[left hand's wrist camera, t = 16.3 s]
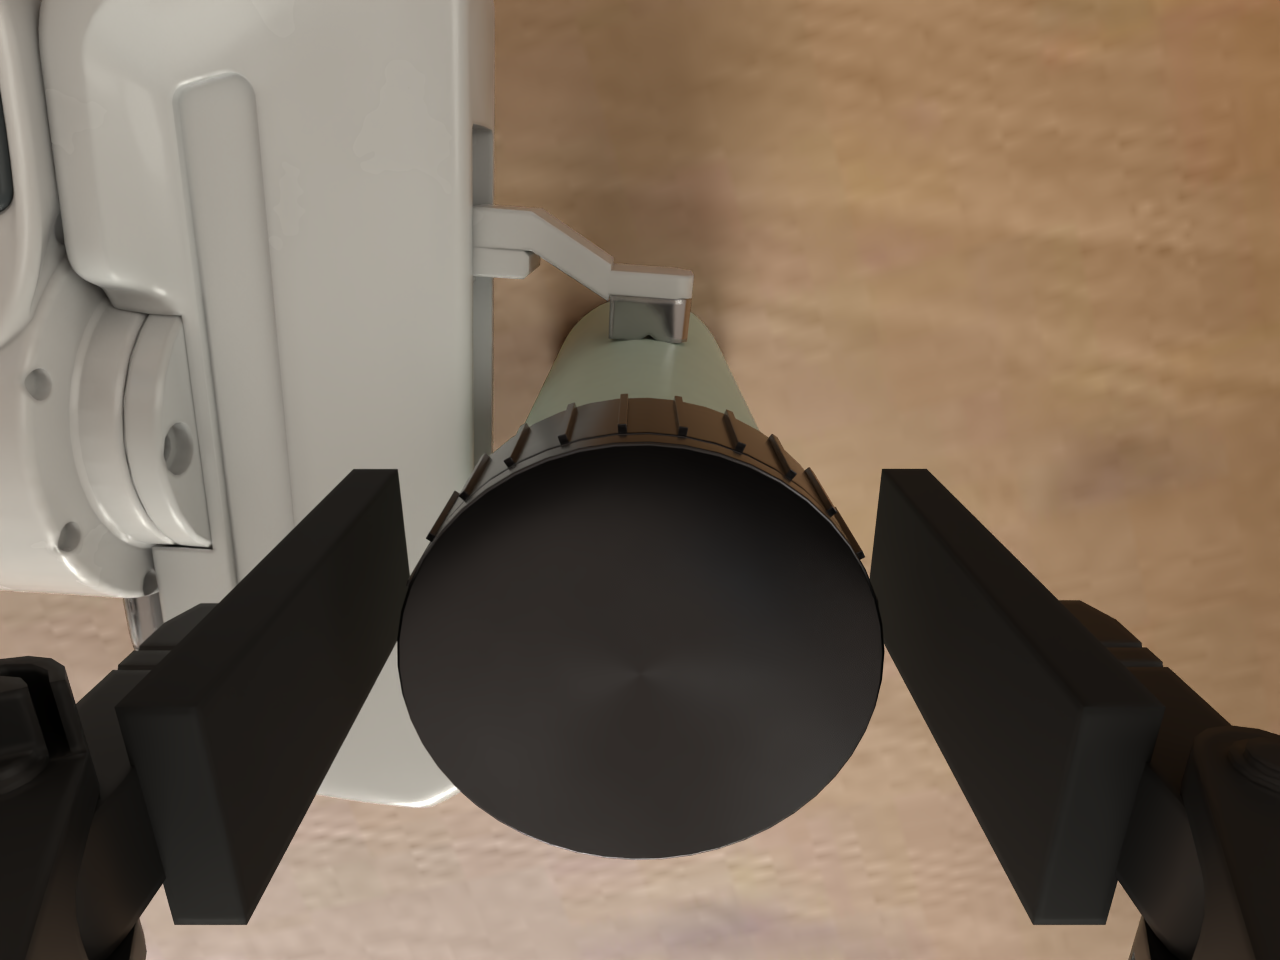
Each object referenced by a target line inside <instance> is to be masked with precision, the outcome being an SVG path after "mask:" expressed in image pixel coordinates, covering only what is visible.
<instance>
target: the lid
mask: <svg viewBox="0 0 1280 960" xmlns="http://www.w3.org/2000/svg"><path fill="white" fill-rule="evenodd" d="M426 539H427V540H429V541H430V543H429V544H428V546H427V548H426V549H425V551H424V553H423V555H422V556H421V558H420V560H419V561H418V563H417V565H416V567H415V568H414V570H413V572H412V573H411V575H410V577H409V578H408V581H407V584H406V586H408V590H407V593H406V596H405V600H404V603H403V606H402V609H401V615H400V622H399V629H398V636H397V666H398V672H399V678H400V684H401V690H402V695H403V698H404V701H405V704H406V707H407V710H408V714H409V717H410V720H411V722H412V724H413V726H414V728H415V730H416V732H417V734H418V736H419V738H420V740H421V742H422V744H423V746H424V747H425V749H426V750H427V752H428V753H429V755H430V756H431V758H432V759H433V761H434V762H435V764H436V765H437V766H438V768H439V769H440V770H441V771H442V772H443V773H444V774H445V776H446V777H447V778H448V779H449V780H450V781H451V782H452V784H453V785H454V786H455V787H456V788H457V789H458V790H460V791H461V792H462V793H463V794H464V795H465V796H466V797H467V798H469V799H470V800H471V801H472V802H473V803H474V804H475V805H477V806H478V807H479V808H481V809H482V810H484V811H485V812H487V813H488V814H489V815H491V816H492V817H494V818H495V819H497V820H498V821H500V822H502V823H503V824H505V825H507V826H509V827H511V828H513V829H515V830H516V831H518V832H520V833H522V834H524V835H527V836H529V837H531V838H534V839H536V840H539V841H541V842H544V843H546V844H549V845H552V846H555V847H559V848H562V849H566V850H569V851H573V852H576V853H581V854H587V855H593V856H598V857H604V858H616V859H629V860H647V859H667V858H675V857H683V856H690V855H695V854H699V853H703V852H708V851H712V850H716V849H720V848H723V847H726V846H728V845H731V844H734V843H737V842H740V841H743V840H746V839H748V838H750V837H752V836H754V835H756V834H758V833H760V832H763V831H765V830H767V829H769V828H771V827H773V826H774V825H776V824H777V823H779V822H781V821H782V820H784V819H786V818H787V817H789V816H790V815H792V814H794V813H795V812H796V811H798V810H799V809H800V808H801V807H803V806H804V805H805V804H806V803H808V802H809V801H810V800H812V799H813V798H814V797H815V796H816V795H817V794H818V793H819V792H820V791H821V790H822V789H823V788H824V787H825V786H826V785H827V784H828V783H829V782H830V781H831V780H832V779H833V778H834V777H835V776H836V775H837V774H838V772H839V771H840V770H841V769H842V767H843V766H844V765H845V763H846V762H847V761H848V759H849V758H850V757H851V756H852V754H853V752H854V750H855V749H856V747H857V745H858V743H859V742H860V740H861V738H862V737H863V735H864V733H865V731H866V729H867V726H868V724H869V721H870V719H871V716H872V714H873V711H874V709H875V706H876V702H877V698H878V694H879V690H880V685H881V681H882V674H883V662H884V638H883V624H882V619H881V615H880V611H879V603H878V598H877V597H876V594H875V592H874V589H873V587H872V584H871V582H870V579H869V577H868V574H867V572H866V569H865V568H864V566H863V564H862V562H861V561H860V559H862V558H864V557H865V556H864V554H863V551H862V550H861V548H860V546H859V545H858V543H857V541H856V540H855V538H854V536H853V535H852V533H851V531H850V530H849V528H848V527H847V525H846V523H845V522H844V520H843V518H842V517H841V515H840V513H839V512H838V510H837V508H836V507H834V505H833V504H832V502H831V500H830V499H829V497H828V495H827V494H826V492H825V490H824V489H823V487H822V485H821V484H820V482H819V480H818V479H817V477H816V475H815V474H814V472H813V471H812V470H811V468H810V467H809V468H807V469H806V470H804V469H803V468H802V467H801V465H800V464H799V463H798V462H797V461H796V460H794V459H793V458H792V457H791V456H790V455H789V454H788V453H787V452H786V451H785V450H784V449H783V447H782V445H781V443H780V441H779V439H778V438H777V437H776V436H775V435H773V434H771V436H770V437H769V438H768V437H767V436H765V435H764V434H763V433H761V432H760V431H758V430H757V429H755V428H753V427H751V426H749V425H747V424H745V423H743V422H742V421H740V420H738V419H736V418H735V416H734V413H733V412H732V411H729V410H727V409H726V411H725V413H721V412H718V411H715V410H713V409H710V408H707V407H704V406H699V405H695V404H691V403H686V402H683V399H682V397H680V396H674V400H667V399H657V398H628V394H620V399H613V400H606V401H600V402H594V403H589V404H585V405H582V406H578V407H576V404H575V403H571V404H568V406H567V409H566V410H565V411H562V412H559V413H557V414H555V415H553V416H550V417H548V418H546V419H544V420H541V421H539V422H537V423H535V424H533V425H532V426H530V427H529V426H528V424H527V423H525V424H523V425H522V426H520V428H519V430H518V432H517V434H516V435H515V436H514V437H512V438H511V439H510V440H508V441H507V442H506V443H505V444H503V445H502V446H501V447H500V448H499V449H497V450H496V451H495V452H494V453H493V454H491V455H490V456H488V455H487V454H486V453H485V454H484V455H483V456H482V457H481V458H480V460H479V461H478V463H477V465H476V466H475V468H474V470H473V472H472V473H471V475H470V477H469V478H468V480H467V482H466V484H465V485H464V487H463V489H462V491H461V492H460V493H459V492H457V491H454V492H453V494H452V495H451V497H450V499H449V500H448V502H447V504H446V505H445V507H444V509H443V510H442V512H441V514H440V515H439V517H438V519H437V520H436V522H435V524H434V525H433V527H432V529H431V530H430V532H429V533H428V535H427V537H426Z"/></svg>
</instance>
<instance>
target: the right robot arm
mask: <svg viewBox="0 0 1280 960" xmlns="http://www.w3.org/2000/svg"><path fill="white" fill-rule="evenodd" d="M494 122H495V7H494V1H493V0H0V591H16V592H35V593H50V594H66V595H82V596H97V597H113V598H123V603H124V608H125V614H126V620H127V625H128V630H129V634H130V638H131V642H132V644H133V647H134V650H139V645H141V644H142V643H143V642H144V641H145V640H146V639H147V638H148V637H149V636H150V635H151V634H152V633H154V632H155V631H156V630H157V629H158V628H159V627H160V626H161V625H162V624H163V623H165V622H166V621H168V620H170V619H172V618H174V617H176V616H178V615H179V614H181V613H183V612H185V611H187V610H189V609H191V608H192V607H194V606H196V605H198V604H200V603H219V602H220V601H221V600H222V599H223V598H224V597H225V596H226V595H227V594H228V593H229V592H230V591H231V590H232V589H233V588H234V587H235V586H236V585H237V584H238V583H239V582H240V581H241V580H242V579H243V578H244V577H245V576H246V575H247V574H248V573H249V572H250V571H251V570H252V569H253V568H254V567H255V566H256V565H257V564H258V563H259V562H260V561H261V560H262V559H263V558H264V557H265V556H267V555H268V554H269V553H270V552H271V551H272V550H273V549H274V548H275V547H276V546H277V545H278V544H279V543H280V542H281V541H282V540H283V539H284V538H285V537H286V536H287V535H288V534H289V533H290V532H291V531H292V530H293V529H294V528H295V527H296V526H297V525H298V524H299V523H300V522H301V521H302V520H303V519H304V518H305V517H306V516H307V515H308V514H309V513H310V512H311V511H312V510H313V509H314V508H315V507H316V506H317V505H318V504H319V503H320V502H321V501H322V500H323V499H324V498H325V497H326V496H327V495H328V494H329V493H330V492H331V491H332V490H333V489H334V488H335V487H336V486H337V485H338V484H339V483H340V482H341V481H342V480H343V479H344V478H345V477H346V476H347V475H348V474H349V473H350V472H351V471H352V470H353V469H398V475H399V483H400V492H401V501H402V510H403V519H404V528H405V536H406V545H407V554H408V563H409V572H410V575H411V573H412V572H413V570H414V568H415V567H416V565H417V563H418V561H419V560H420V558H421V556H422V555H423V553H424V551H425V549H426V548H427V546H428V544H429V543H430V541H429V540H427V539H426V537H427V535H428V533H429V532H430V530H431V529H432V527H433V525H434V524H435V522H436V520H437V519H438V517H439V515H440V514H441V512H442V510H443V509H444V507H445V505H446V504H447V502H448V500H449V499H450V497H451V495H452V494H453V492H454V491H457V492H459V493H460V492H461V491H462V489H463V487H464V485H465V484H466V482H467V480H468V478H469V477H470V475H471V473H472V472H473V470H474V468H475V466H476V465H477V463H478V461H479V460H480V458H481V457H482V456H483V455H484V454H485V453H486V454H487V455H488V456H490V455H491V454H493V337H494V277H496V278H513V279H524V278H525V277H526V276H528V275H529V274H530V273H531V272H532V271H534V270H535V269H536V268H537V267H538V266H539V265H540V257H541V258H543V259H544V260H546V261H547V262H549V263H550V264H552V265H553V266H555V267H556V268H558V269H560V270H561V271H563V272H564V273H566V274H567V275H569V276H570V277H572V278H573V279H575V280H576V281H578V282H579V283H581V284H582V285H584V286H585V287H587V288H589V289H590V290H592V291H593V292H595V293H596V294H598V295H599V296H601V297H602V298H604V299H605V300H607V301H608V300H609V297H610V311H609V338H608V339H620V340H640V339H642V338H644V337H646V336H647V335H650V336H652V337H653V338H654V339H655V340H657V341H662V342H667V343H683V342H687V338H688V329H689V320H690V311H691V302H692V289H693V279H694V275H693V273H692V271H691V270H687V269H682V268H676V267H663V266H649V265H636V264H622V263H614V257H613V256H611V255H610V254H608V253H607V252H605V251H604V250H602V249H601V248H600V247H598V246H597V245H595V244H594V243H592V242H591V241H589V240H588V239H587V238H585V237H584V236H582V235H581V234H579V233H578V232H576V231H575V230H574V229H572V228H571V227H569V226H568V225H566V224H565V223H563V222H562V221H561V220H559V219H558V218H556V217H555V216H553V215H552V214H550V213H549V212H548V211H546V210H545V209H543V208H535V207H521V206H507V205H494ZM460 792H461V791H460V790H458V789H457V788H456V787H455V786H454V785H453V784H452V782H451V781H450V780H449V779H448V778H447V777H446V776H445V774H444V773H443V772H442V771H441V770H440V769H439V768H438V766H437V765H436V764H435V762H434V761H433V759H432V758H431V756H430V755H429V753H428V752H427V750H426V749H425V747H424V746H423V744H422V742H421V740H420V738H419V736H418V734H417V732H416V730H415V728H414V726H413V724H412V722H411V720H410V717H409V714H408V710H407V707H406V704H405V701H404V698H403V695H402V690H401V684H400V678H399V672H398V666H397V642H396V644H395V646H394V648H393V650H392V652H391V654H390V656H389V658H388V659H387V661H386V663H385V665H384V667H383V669H382V671H381V673H380V675H379V676H378V678H377V680H376V682H375V684H374V686H373V688H372V690H371V691H370V693H369V695H368V697H367V699H366V701H365V703H364V705H363V707H362V708H361V710H360V712H359V714H358V716H357V718H356V720H355V722H354V724H353V725H352V727H351V729H350V731H349V733H348V735H347V737H346V739H345V741H344V742H343V744H342V746H341V748H340V750H339V752H338V754H337V756H336V757H335V759H334V761H333V763H332V765H331V767H330V769H329V771H328V773H327V774H326V776H325V778H324V780H323V782H322V784H321V786H320V788H319V790H318V791H317V793H316V795H322V796H327V797H333V798H339V799H345V800H352V801H358V802H366V803H374V804H382V805H390V806H400V807H411V808H427V807H432V806H436V805H438V804H440V803H442V802H443V801H445V800H447V799H449V798H451V797H453V796H455V795H456V794H458V793H460Z"/></svg>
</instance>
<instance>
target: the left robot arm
mask: <svg viewBox="0 0 1280 960" xmlns="http://www.w3.org/2000/svg"><path fill="white" fill-rule="evenodd" d="M409 577H410V572H409V563H408V554H407V545H406V536H405V528H404V519H403V510H402V501H401V492H400V483H399V475H398V469H353V470H352V471H351V472H350V473H349V474H348V475H347V476H346V477H345V478H344V479H343V480H342V481H341V482H340V483H339V484H338V485H337V486H336V487H335V488H334V489H333V490H332V491H331V492H330V493H329V494H328V495H327V496H326V497H325V498H324V499H323V500H322V501H321V502H320V503H319V504H318V505H317V506H316V507H315V508H314V509H313V510H312V511H311V512H310V513H309V514H308V515H307V516H306V517H305V518H304V519H303V520H302V521H301V522H300V523H299V524H298V525H297V526H296V527H295V528H294V529H293V530H292V531H291V532H290V533H289V534H288V535H287V536H286V537H285V538H284V539H283V540H282V541H281V542H280V543H279V544H278V545H277V546H276V547H275V548H274V549H273V550H272V551H271V552H270V553H269V554H268V555H267V556H265V557H264V558H263V559H262V560H261V561H260V562H259V563H258V564H257V565H256V566H255V567H254V568H253V569H252V570H251V571H250V572H249V573H248V574H247V575H246V576H245V577H244V578H243V579H242V580H241V581H240V582H239V583H238V584H237V585H236V586H235V587H234V588H233V589H232V590H231V591H230V592H229V593H228V594H227V595H226V596H225V597H224V598H223V599H222V600H221V601H220V602H219V603H200V604H198V605H196V606H194V607H192V608H191V609H189V610H187V611H185V612H183V613H181V614H179V615H178V616H176V617H174V618H172V619H170V620H168V621H166V622H165V623H163V624H162V625H161V626H160V627H159V628H158V629H157V630H156V631H155V632H154V633H152V634H151V635H150V636H149V637H148V638H147V639H146V640H145V641H144V642H143V643H142V644H141V645H139V650H134V651H133V652H132V653H131V654H130V655H129V656H128V657H126V658H125V659H124V660H123V661H122V662H121V663H120V664H119V665H118V670H112V671H111V672H110V673H109V674H108V675H107V676H106V677H105V678H104V679H103V680H102V681H100V682H99V683H98V684H97V685H96V686H95V687H94V688H93V689H92V690H91V691H90V692H89V693H87V694H86V695H85V696H84V697H83V698H82V699H81V700H80V701H79V702H78V703H77V704H75V700H74V697H73V693H72V690H71V687H70V683H69V680H68V677H67V673H66V670H65V666H63V665H61V664H60V663H58V662H56V661H55V660H53V659H52V658H42V657H33V656H24V657H15V658H6V659H0V960H145V959H146V952H147V951H146V944H145V938H144V933H143V929H142V926H141V923H140V919H139V917H140V916H141V915H142V913H143V912H144V910H145V909H146V907H147V906H148V904H149V903H150V901H151V900H152V898H153V897H154V895H155V894H156V893H157V891H158V890H159V888H160V887H161V885H162V884H163V885H164V888H165V892H166V896H167V899H168V903H169V907H170V910H171V914H172V917H173V921H174V925H247V923H248V921H249V920H250V918H251V916H252V914H253V912H254V910H255V908H256V906H257V905H258V903H259V901H260V899H261V897H262V895H263V893H264V891H265V889H266V888H267V886H268V884H269V882H270V880H271V878H272V876H273V874H274V872H275V871H276V869H277V867H278V865H279V863H280V861H281V859H282V857H283V856H284V854H285V852H286V850H287V848H288V846H289V844H290V842H291V840H292V839H293V837H294V835H295V833H296V831H297V829H298V827H299V825H300V823H301V822H302V820H303V818H304V816H305V814H306V812H307V810H308V808H309V806H310V805H311V803H312V801H313V799H314V797H315V795H316V793H317V791H318V790H319V788H320V786H321V784H322V782H323V780H324V778H325V776H326V774H327V773H328V771H329V769H330V767H331V765H332V763H333V761H334V759H335V757H336V756H337V754H338V752H339V750H340V748H341V746H342V744H343V742H344V741H345V739H346V737H347V735H348V733H349V731H350V729H351V727H352V725H353V724H354V722H355V720H356V718H357V716H358V714H359V712H360V710H361V708H362V707H363V705H364V703H365V701H366V699H367V697H368V695H369V693H370V691H371V690H372V688H373V686H374V684H375V682H376V680H377V678H378V676H379V675H380V673H381V671H382V669H383V667H384V665H385V663H386V661H387V659H388V658H389V656H390V654H391V652H392V650H393V648H394V646H395V644H396V642H397V636H398V629H399V622H400V615H401V609H402V606H403V603H404V600H405V596H406V593H407V590H408V586H406V584H407V581H408V578H409ZM870 582H871V584H872V587H873V589H874V592H875V594H876V597H877V598H878V603H879V611H880V615H881V619H882V624H883V638H884V644H885V646H886V648H887V650H888V652H889V654H890V656H891V658H892V659H893V661H894V663H895V665H896V667H897V669H898V671H899V673H900V675H901V676H902V678H903V680H904V682H905V684H906V686H907V688H908V690H909V691H910V693H911V695H912V697H913V699H914V701H915V703H916V705H917V707H918V708H919V710H920V712H921V714H922V716H923V718H924V720H925V722H926V724H927V725H928V727H929V729H930V731H931V733H932V735H933V737H934V739H935V741H936V742H937V744H938V746H939V748H940V750H941V752H942V754H943V756H944V757H945V759H946V761H947V763H948V765H949V767H950V769H951V771H952V773H953V774H954V776H955V778H956V780H957V782H958V784H959V786H960V788H961V790H962V791H963V793H964V795H965V797H966V799H967V801H968V803H969V805H970V806H971V808H972V810H973V812H974V814H975V816H976V818H977V820H978V822H979V823H980V825H981V827H982V829H983V831H984V833H985V835H986V837H987V839H988V840H989V842H990V844H991V846H992V848H993V850H994V852H995V854H996V856H997V857H998V859H999V861H1000V863H1001V865H1002V867H1003V869H1004V871H1005V872H1006V874H1007V876H1008V878H1009V880H1010V882H1011V884H1012V886H1013V888H1014V889H1015V891H1016V893H1017V895H1018V897H1019V899H1020V901H1021V903H1022V905H1023V906H1024V908H1025V910H1026V912H1027V914H1028V916H1029V918H1030V920H1031V922H1032V923H1033V925H1106V921H1107V917H1108V914H1109V910H1110V907H1111V903H1112V899H1113V896H1114V892H1115V888H1116V885H1117V881H1119V882H1120V884H1121V885H1122V887H1123V888H1124V890H1125V891H1126V893H1127V894H1128V895H1129V897H1130V898H1131V900H1132V901H1133V903H1134V904H1135V906H1136V907H1137V909H1138V910H1139V912H1140V913H1141V914H1142V916H1141V919H1140V923H1139V926H1138V929H1137V933H1136V936H1135V939H1134V943H1133V946H1132V950H1131V953H1130V956H1129V960H1280V735H1277V734H1274V733H1270V732H1267V731H1264V730H1260V729H1254V728H1247V727H1239V726H1232V725H1231V724H1230V723H1228V722H1227V721H1226V720H1225V719H1224V718H1223V717H1222V716H1221V715H1220V714H1219V713H1218V712H1216V711H1215V710H1214V709H1213V708H1212V707H1211V706H1210V705H1209V704H1208V703H1207V702H1206V701H1204V700H1203V699H1202V698H1201V697H1200V696H1199V695H1198V694H1197V693H1196V692H1195V691H1194V690H1192V689H1191V688H1190V687H1189V686H1188V685H1187V684H1186V683H1185V682H1184V681H1183V680H1182V679H1180V678H1179V677H1178V676H1177V675H1176V674H1175V673H1174V672H1173V671H1172V670H1171V669H1170V668H1168V667H1163V665H1162V664H1163V662H1162V661H1161V660H1160V659H1159V658H1158V657H1156V656H1155V655H1154V654H1153V653H1152V652H1151V651H1150V650H1149V649H1148V648H1142V643H1141V642H1140V641H1139V640H1138V639H1137V638H1136V637H1135V636H1134V635H1132V634H1131V633H1130V632H1129V631H1128V630H1127V629H1126V628H1125V627H1124V626H1123V625H1121V624H1120V623H1119V622H1118V621H1117V620H1116V619H1114V618H1112V617H1110V616H1108V615H1106V614H1104V613H1103V612H1101V611H1099V610H1097V609H1095V608H1093V607H1091V606H1090V605H1088V604H1086V603H1084V602H1082V601H1080V600H1058V599H1057V598H1056V597H1055V596H1054V595H1053V594H1052V593H1051V592H1050V591H1049V590H1048V589H1047V588H1046V587H1045V586H1044V585H1043V584H1042V583H1041V582H1040V581H1039V580H1038V579H1037V578H1036V577H1035V576H1034V575H1033V574H1032V573H1031V572H1030V571H1029V570H1028V569H1027V568H1026V567H1025V566H1024V565H1023V564H1022V563H1021V562H1020V561H1019V560H1018V559H1017V558H1016V557H1015V556H1013V555H1012V554H1011V553H1010V552H1009V551H1008V550H1007V549H1006V548H1005V547H1004V546H1003V545H1002V544H1001V543H1000V542H999V541H998V540H997V539H996V538H995V537H994V536H993V535H992V534H991V533H990V532H989V531H988V530H987V529H986V528H985V527H984V526H983V525H982V524H981V523H980V522H979V521H978V520H977V519H976V518H975V517H974V516H973V515H972V514H971V513H970V512H969V511H968V510H967V509H966V508H965V507H964V506H963V505H962V504H961V503H960V502H959V501H958V500H957V499H956V498H955V497H954V496H953V495H952V494H951V493H950V492H949V491H948V490H947V489H946V488H945V487H944V486H943V485H942V484H941V483H940V482H939V481H938V480H937V479H936V478H935V477H934V476H933V475H932V474H931V473H930V472H929V471H928V470H927V469H882V475H881V483H880V492H879V501H878V510H877V519H876V527H875V536H874V545H873V554H872V563H871V572H870Z"/></svg>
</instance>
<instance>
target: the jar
mask: <svg viewBox="0 0 1280 960" xmlns="http://www.w3.org/2000/svg"><path fill="white" fill-rule="evenodd" d="M609 311H610V301H609V302H607V303H604V304H602V305H600V306H598V307H597V308H595V309H593V310H592V311H590V312H589V313H588V314H586V315H585V316H584V317H583V318H582V319H581V320H580V321H579V322H578V323H577V324H576V325H575V326H574V327H573V329H572V330H571V331H570V333H569V334H568V336H567V337H566V339H565V341H564V343H563V345H562V347H561V349H560V351H559V353H558V355H557V357H556V359H555V362H554V364H553V366H552V368H551V370H550V372H549V374H548V376H547V378H546V380H545V382H544V384H543V387H542V389H541V391H540V393H539V395H538V397H537V399H536V401H535V403H534V405H533V407H532V410H531V412H530V414H529V416H528V418H527V420H526V422H525V423H527V424H528V426H529V427H530V426H532V425H533V424H535V423H537V422H539V421H541V420H544V419H546V418H548V417H550V416H553V415H555V414H557V413H559V412H562V411H565V410H566V409H567V406H568V404H571V403H575V404H576V407H578V406H582V405H585V404H589V403H594V402H600V401H606V400H613V399H620V394H628V398H657V399H667V400H674V396H680V397H682V399H683V402H686V403H691V404H695V405H699V406H704V407H707V408H710V409H713V410H715V411H718V412H721V413H725V411H726V409H727V410H729V411H732V412H733V413H734V416H735V418H736V419H738V420H740V421H742V422H743V423H745V424H747V425H749V426H751V427H753V428H755V429H757V430H758V431H759V429H758V427H757V425H756V423H755V421H754V419H753V416H752V414H751V412H750V410H749V408H748V406H747V404H746V402H745V400H744V398H743V396H742V394H741V392H740V390H739V387H738V385H737V383H736V381H735V379H734V377H733V375H732V373H731V371H730V369H729V367H728V365H727V363H726V361H725V358H724V356H723V354H722V352H721V350H720V348H719V346H718V344H717V342H716V340H715V339H714V337H713V335H712V333H711V332H710V331H709V329H708V328H707V327H706V325H705V324H704V323H703V322H702V321H701V320H700V319H699V318H698V317H697V316H695V315H694V314H693V313H691V312H690V320H689V329H688V338H687V342H683V343H667V342H662V341H657V340H655V339H654V338H653V337H652V336H650V335H647V336H646V337H644V338H642V339H640V340H620V339H608V338H609Z"/></svg>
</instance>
